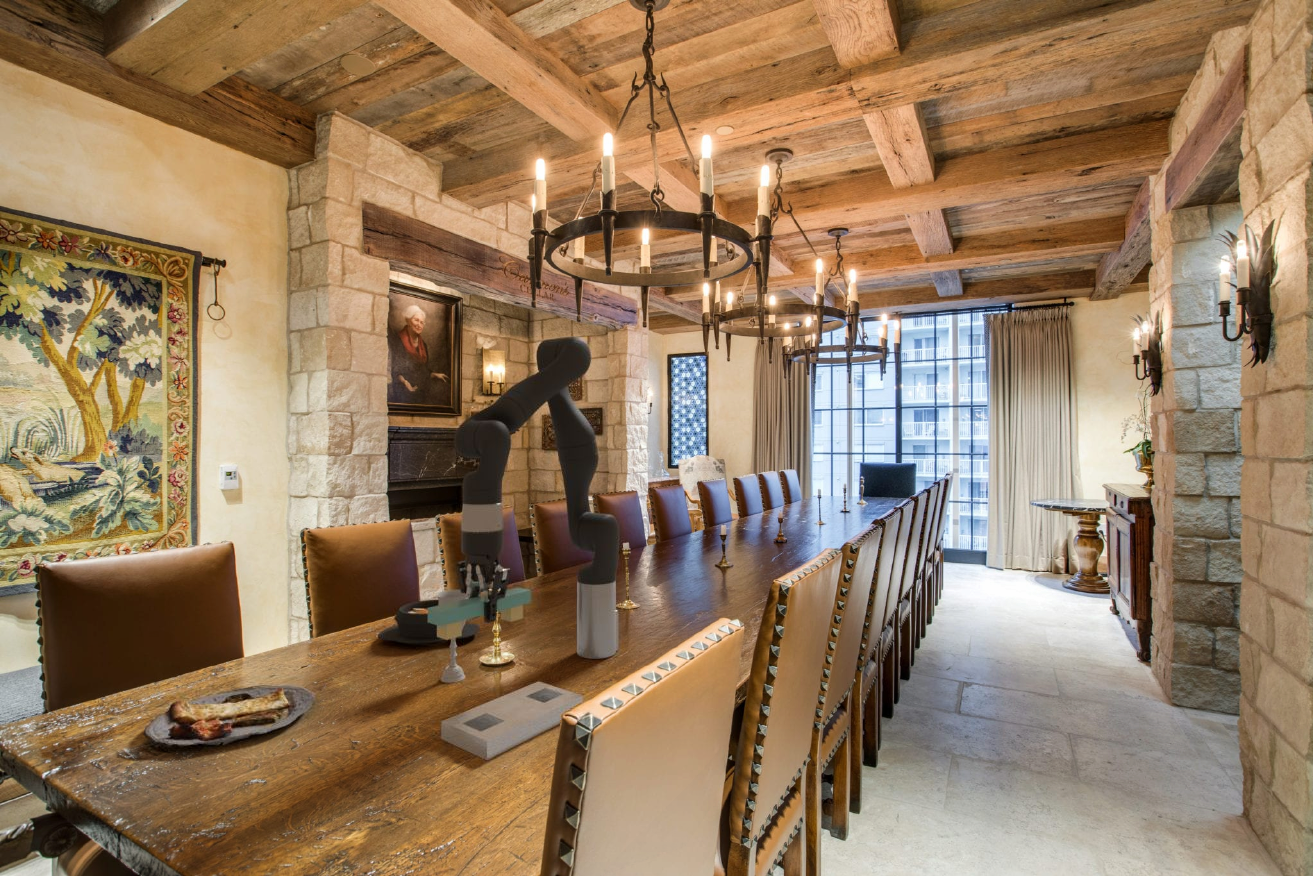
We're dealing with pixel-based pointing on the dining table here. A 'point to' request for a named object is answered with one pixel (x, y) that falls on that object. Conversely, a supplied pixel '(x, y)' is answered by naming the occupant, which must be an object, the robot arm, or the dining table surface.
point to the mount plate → (508, 719)
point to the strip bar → (476, 611)
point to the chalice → (453, 670)
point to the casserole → (419, 626)
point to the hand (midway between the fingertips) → (482, 619)
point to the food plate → (228, 715)
